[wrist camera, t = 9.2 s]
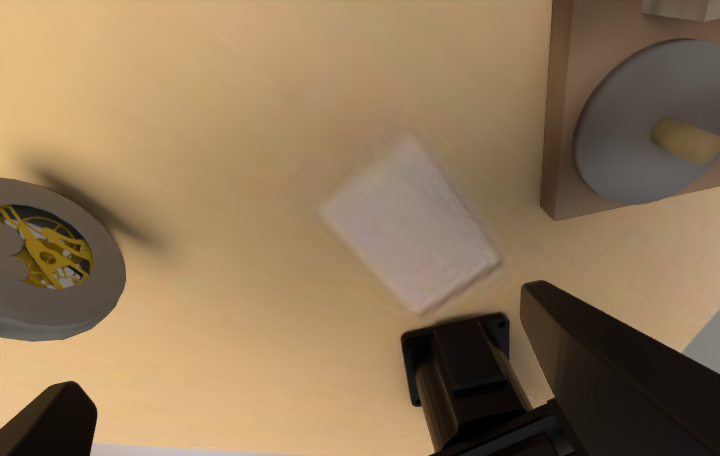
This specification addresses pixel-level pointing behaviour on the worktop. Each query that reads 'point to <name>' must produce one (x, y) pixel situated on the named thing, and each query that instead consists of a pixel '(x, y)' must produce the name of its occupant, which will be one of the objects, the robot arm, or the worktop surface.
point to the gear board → (630, 103)
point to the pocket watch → (53, 265)
